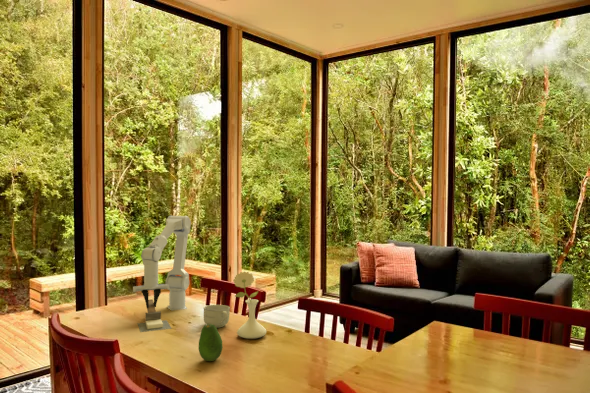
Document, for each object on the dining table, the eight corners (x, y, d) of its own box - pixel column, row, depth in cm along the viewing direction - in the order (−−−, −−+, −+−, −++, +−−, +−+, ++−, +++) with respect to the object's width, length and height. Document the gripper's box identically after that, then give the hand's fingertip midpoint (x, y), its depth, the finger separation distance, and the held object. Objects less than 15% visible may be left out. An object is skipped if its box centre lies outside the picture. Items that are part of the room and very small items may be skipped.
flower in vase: (268, 332, 182) (268, 269, 181) (263, 341, 170) (264, 274, 170) (236, 331, 183) (236, 268, 183) (229, 340, 172) (229, 273, 171)
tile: (145, 320, 189) (147, 325, 183) (160, 319, 192) (163, 323, 186) (145, 324, 190) (147, 329, 183) (160, 323, 192) (163, 327, 186)
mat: (137, 324, 192) (137, 323, 192) (166, 321, 197) (166, 320, 197) (140, 333, 180) (140, 332, 180) (171, 329, 185) (171, 328, 185)
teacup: (200, 324, 193) (200, 305, 193) (225, 321, 198) (225, 302, 197) (209, 333, 180) (209, 313, 180) (235, 330, 185) (235, 310, 185)
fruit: (196, 358, 153) (196, 322, 153) (220, 355, 156) (220, 320, 156) (200, 366, 146) (200, 329, 146) (224, 363, 149) (225, 326, 149)
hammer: (142, 307, 201) (142, 300, 201) (156, 306, 204) (156, 299, 203) (145, 322, 190) (145, 314, 189) (160, 320, 192) (160, 312, 192)
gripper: (134, 278, 190) (134, 311, 191) (169, 275, 196) (169, 307, 197) (132, 275, 197) (132, 307, 197) (167, 273, 203) (167, 303, 203)
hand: (151, 307), depth 197 cm, fingers closed on hammer, 2 cm apart
